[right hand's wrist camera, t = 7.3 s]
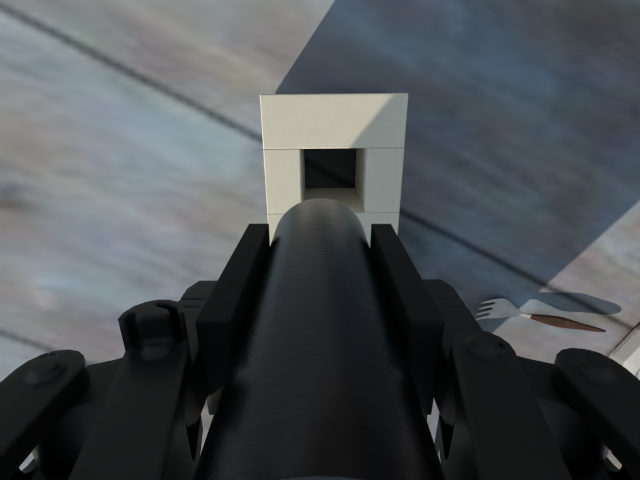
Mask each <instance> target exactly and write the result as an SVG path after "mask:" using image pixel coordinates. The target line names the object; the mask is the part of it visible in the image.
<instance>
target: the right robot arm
mask: <svg viewBox="0 0 640 480" xmlns="http://www.w3.org/2000/svg"><path fill="white" fill-rule="evenodd" d="M269 248H270V236H269V224H249V225H248V227H247V229H246V231H245V233H244V234H243V236H242V238H241V240H240V242H239V243H238V245H237V247H236V249H235V251H234V252H233V254H232V256H231V258H230V260H229V261H228V263H227V265H226V267H225V269H224V270H223V272H222V274H221V276H220V278H219V279H218V281H198V282H197V283H195V284H194V285H192V286H191V287H189V288H188V289H187V290H186V292H185V293H184V294H183V296H182V297H181V300H179V302H176V301H172V300H154V301H149V302H145V303H142V304H139V305H136V306H134V307H132V308H130V309H129V310H127V311H126V312H124V313H123V314H122V315H121V316H120V317H119V319H118V321H119V325H120V330H121V334H122V338H123V342H124V346H125V350H126V352H125V354H124V356H123V358H120V359H116V360H112V361H107V362H102V363H97V364H93V365H88V366H87V365H86V362H85V358H84V356H83V355H82V354H81V353H80V352H79V351H74V350H59V351H53V352H49V353H45V354H42V355H40V356H38V357H36V358H34V359H32V360H29V361H27V362H26V363H24V364H23V365H22V366H20V367H19V368H17V369H16V370H14V371H13V372H12V373H11V374H10V375H9V376H7V377H6V378H5V379H4V380H3V381H2V382H0V480H192V479H193V476H194V473H195V470H196V467H197V464H198V461H199V458H200V451H201V442H202V434H203V426H202V420H201V412H202V409H203V407H204V404H205V401H206V399H207V403H208V410H209V415H214V413H215V410H216V407H217V404H218V401H219V398H220V395H221V392H222V389H223V386H224V383H225V380H226V377H227V374H228V371H229V368H230V365H231V362H232V359H233V356H234V353H235V350H236V347H237V344H238V341H239V338H240V335H241V332H242V329H243V326H244V323H245V320H246V317H247V314H248V311H249V308H250V305H251V302H252V299H253V296H254V293H255V290H256V287H257V284H258V281H259V278H260V275H261V272H262V269H263V266H264V263H265V260H266V257H267V254H268V251H269ZM370 250H371V253H372V256H373V259H374V262H375V265H376V268H377V271H378V274H379V278H380V281H381V284H382V287H383V290H384V293H385V296H386V299H387V302H388V305H389V308H390V311H391V314H392V317H393V320H394V323H395V326H396V329H397V332H398V335H399V338H400V341H401V344H402V348H403V351H404V354H405V357H406V360H407V363H408V366H409V369H410V372H411V375H412V378H413V381H414V384H415V387H416V390H417V393H418V396H419V399H420V402H421V405H422V408H423V411H424V414H425V415H431V411H432V405H433V398H434V399H435V402H436V404H437V407H438V410H439V412H440V413H439V420H438V426H437V432H436V438H435V444H434V445H435V448H436V451H437V453H438V451H440V459H441V466H442V469H443V472H444V475H445V478H446V480H640V380H639V379H638V378H637V377H636V376H634V375H633V374H632V373H631V372H630V371H629V370H627V369H626V368H625V367H623V366H622V365H620V364H619V363H617V362H616V361H615V360H613V359H611V358H608V357H606V356H604V355H602V354H600V353H598V352H595V351H591V350H586V349H578V348H569V349H564V350H561V351H560V352H559V353H558V354H557V356H556V359H555V362H554V364H551V363H546V362H541V361H536V360H531V359H527V358H523V357H519V356H516V353H515V351H514V350H513V348H512V347H511V346H510V344H509V343H508V342H506V341H505V340H503V339H502V338H501V337H499V336H497V335H494V334H492V333H489V332H486V331H483V330H482V329H481V327H480V326H479V324H478V323H477V321H476V320H475V318H474V317H473V316H472V314H471V313H470V311H469V310H468V308H467V307H465V304H464V303H463V301H462V300H461V299H460V297H459V295H458V294H457V293H456V291H455V290H454V288H453V287H451V286H450V285H448V284H447V283H445V282H444V281H442V280H422V279H421V277H420V275H419V274H418V272H417V270H416V268H415V266H414V265H413V263H412V261H411V259H410V257H409V256H408V254H407V252H406V250H405V248H404V247H403V245H402V243H401V241H400V239H399V238H398V236H397V234H396V232H395V230H394V229H393V227H392V225H391V224H371V240H370ZM609 450H610V451H611V453H612V454H613V455H614V456H615V457H616V458H617V460H618V461H619V462H620V463H621V464H622V467H621V469H620V470H619V469H618V468H617V467H616V466H614V465H613V464H612V462H611V461H610V460H609V459H608V458H607V454H608V452H609ZM31 452H32V454H33V456H34V459H33V460H32V461H31V462H30V464H29V465H28V466H27V467H26V468H24V469H23V470H22V471H21V470H20V469H19V466H20V465H21V464H22V463H23V461H24V460H25V459H26V458H27V457H28V456H29V454H30V453H31Z"/></svg>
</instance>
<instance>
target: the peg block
mask: <svg viewBox="0 0 640 480" xmlns="http://www.w3.org/2000/svg"><path fill="white" fill-rule="evenodd" d="M260 105H261V120H262V136H263V148H264V150H263V151H264V167H265V182H266V197H267V213H268V224H269V236H270V245H271V242H272V239H273V236H274V233H275V230H276V227H277V225H278V223H279V221H280V219H281V218H282V216H283V215H284V214H285V213H286V212H287V211H288V210H289V209H290V208H291V207H293V206H295V205H296V204H298V203H300V202H303V201H306V200H310V199H318V198H322V199H330V200H334V201H337V202H339V203H341V204H343V205H345V206H346V207H348V208H349V209H350V210H352V211H353V212H354V213H355V215H356V216H357V217H358V219H359V220H360V222H361V224H362V226H363V229H364V232H365V235H366V238H367V241H368V244H369V247H370V240H371V224H391V225H392V227H393V229H394V230H395V232H396V234H397V236H398V223H399V210H400V198H401V185H402V172H403V159H404V145H405V132H406V119H407V107H408V93H349V94H261V95H260ZM320 148H356V177H355V188H305V158H304V149H320Z"/></svg>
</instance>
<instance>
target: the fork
mask: <svg viewBox="0 0 640 480" xmlns="http://www.w3.org/2000/svg"><path fill="white" fill-rule="evenodd" d="M490 302H495V303H494V304H492V305H488V306H484V307H481V308H478V309H479V310H480V309H485V308H492V309H491V310H487V311H483V312H480V313H477V314H476V315H480V314H485V313H490V314H489V315H486V316H483V317H479V318H476V319H475V320H480V319H486V318H505V317H513V316H523V317H527V318H530V319H533V320H536V321H539V322H542V323H545V324H549V325H552V326H556V327H561V328H570V329H579V330H588V331H596V332H606V330H603V329H600V328H597V327H593V326H590V325H586V324H582V323H579V322H576V321H573V320H570V319H566V318H563V317H558V316H549V315H538V314H527V313H523V312H520V311H519V310H518V309H517V308H516V307H515V306H514V305H513V304H512V303H511V302H510V301H508V300H507V299H504V298H498V299H492V300H488V301H485V302H482V303H481V304H484V303H490Z"/></svg>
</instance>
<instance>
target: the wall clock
mask: <svg viewBox="0 0 640 480" xmlns="http://www.w3.org/2000/svg"><path fill="white" fill-rule="evenodd" d="M608 358H611V359H613V360H615V361H616V362H617V363H619V364H620V365H622V366H623V367H625V368H626V369H627V370H629V371H630V372H631V373H632V374H633V375H634V376H636V377H637V378H638V379H639V380H640V325H638V326H637V327H636V328H635V329H634V330H633V331H632V332H631V333H630V334H629V335H628V336H627V337H626V338H625V339H624V340H623V341H622V342H621V343H620V344H619V345H618V346H617V347H616V349H615V350H614V351H613V352H612V353H611V354H610V356H609V357H608ZM609 451H610V450H609ZM610 452H611V451H610Z"/></svg>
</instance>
